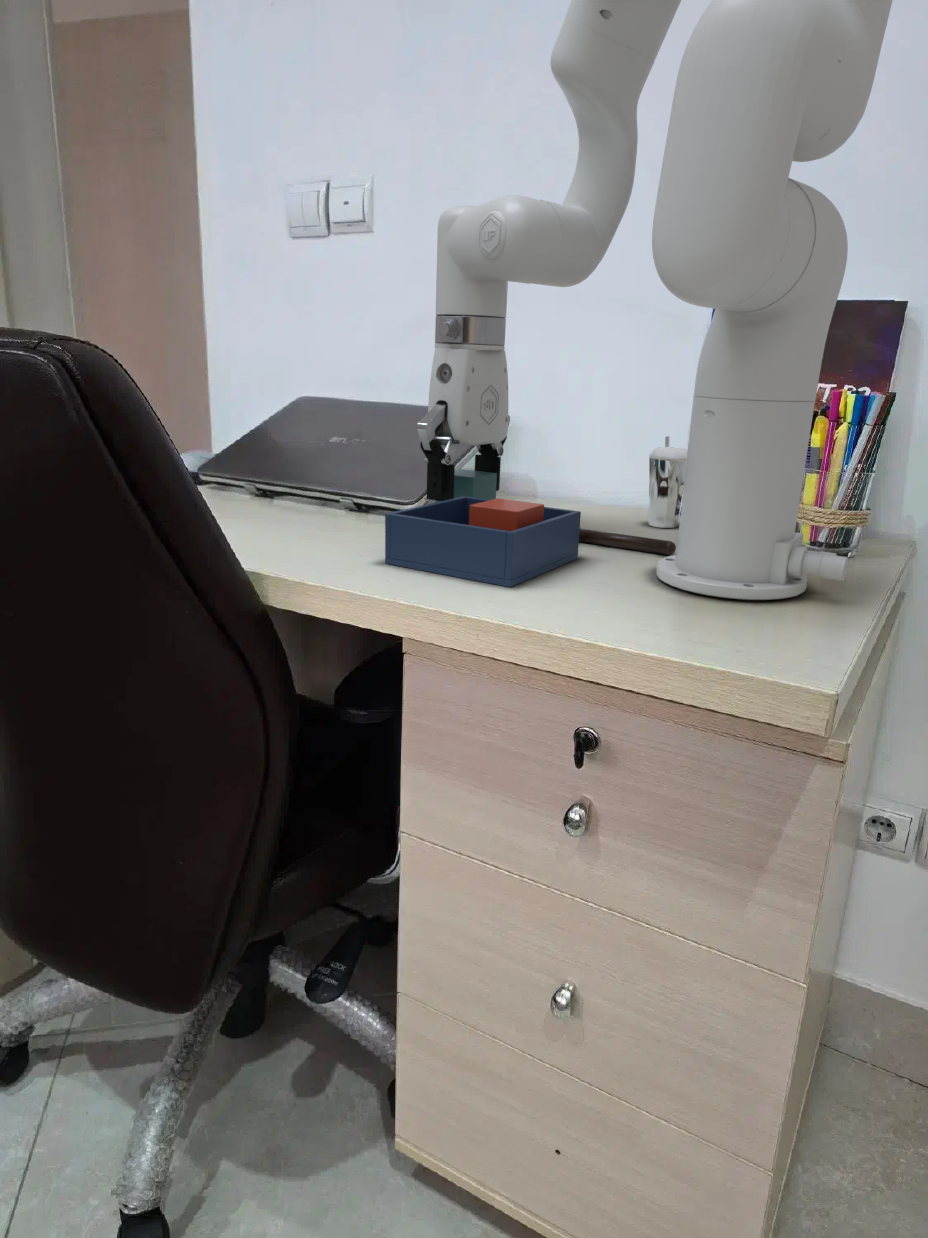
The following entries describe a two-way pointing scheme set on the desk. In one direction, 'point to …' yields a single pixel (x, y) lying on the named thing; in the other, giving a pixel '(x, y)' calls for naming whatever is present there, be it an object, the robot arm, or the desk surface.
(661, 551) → the dark brown dowel rod
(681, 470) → the milkshake
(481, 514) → the block red
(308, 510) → the desk surface
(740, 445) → the robot arm
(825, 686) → the desk surface
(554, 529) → the basket
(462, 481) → the block teal
